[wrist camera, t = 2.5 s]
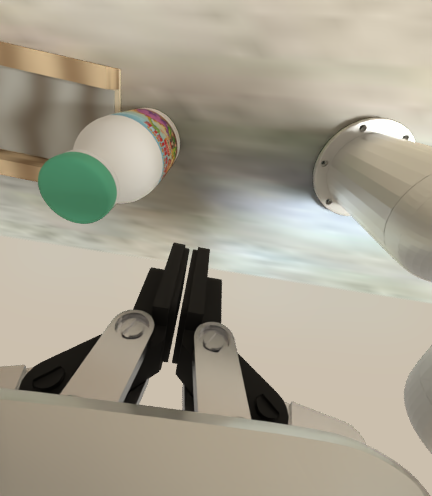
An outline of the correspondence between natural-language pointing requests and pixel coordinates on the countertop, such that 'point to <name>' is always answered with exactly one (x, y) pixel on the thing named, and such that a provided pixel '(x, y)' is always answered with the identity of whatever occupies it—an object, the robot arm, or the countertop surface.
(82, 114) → the cradle
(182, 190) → the countertop surface
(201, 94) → the countertop surface
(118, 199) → the milk bottle
